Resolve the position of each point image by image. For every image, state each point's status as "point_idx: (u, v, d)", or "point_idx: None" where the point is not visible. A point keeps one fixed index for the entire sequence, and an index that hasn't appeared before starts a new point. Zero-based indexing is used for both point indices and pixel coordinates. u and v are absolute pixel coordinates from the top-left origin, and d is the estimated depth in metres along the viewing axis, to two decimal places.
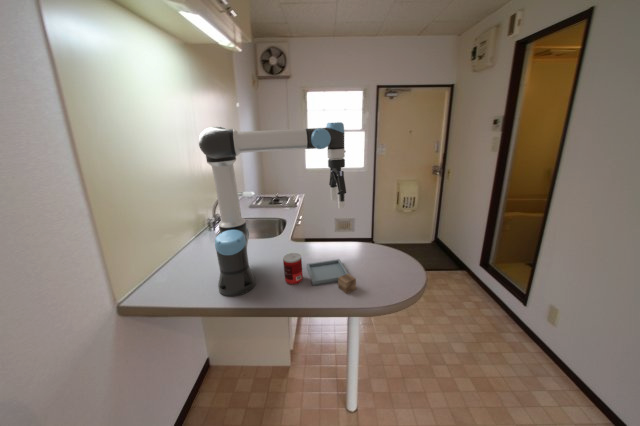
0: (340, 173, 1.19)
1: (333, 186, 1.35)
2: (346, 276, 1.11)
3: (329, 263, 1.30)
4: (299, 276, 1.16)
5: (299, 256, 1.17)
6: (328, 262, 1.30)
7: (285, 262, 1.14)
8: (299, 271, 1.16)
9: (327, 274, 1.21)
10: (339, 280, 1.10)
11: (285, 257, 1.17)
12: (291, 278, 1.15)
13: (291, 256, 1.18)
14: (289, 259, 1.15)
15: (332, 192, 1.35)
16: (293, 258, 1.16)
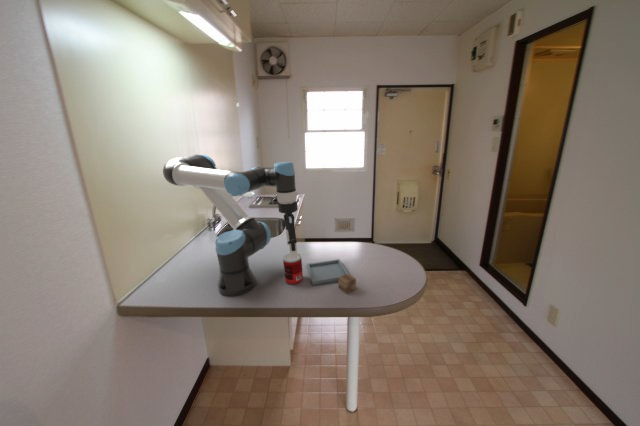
0: (290, 220, 1.04)
1: None
2: (346, 276, 1.11)
3: (329, 263, 1.30)
4: (299, 276, 1.16)
5: (299, 256, 1.17)
6: (328, 262, 1.30)
7: (285, 262, 1.14)
8: (299, 271, 1.16)
9: (327, 274, 1.21)
10: (339, 280, 1.10)
11: (285, 257, 1.17)
12: (291, 278, 1.15)
13: None
14: (289, 259, 1.15)
15: (288, 235, 1.20)
16: (293, 258, 1.16)
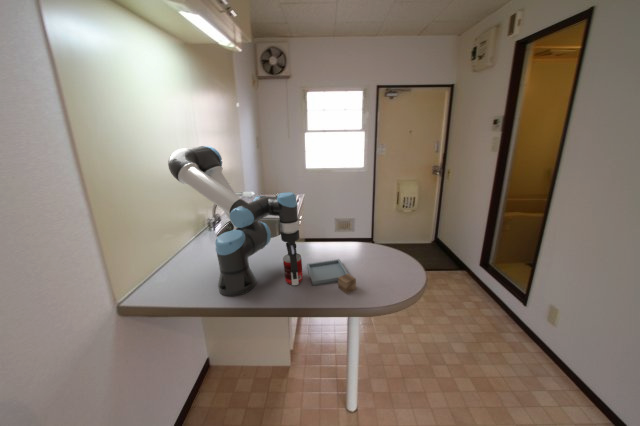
0: (292, 252, 1.08)
1: None
2: (346, 276, 1.11)
3: (329, 263, 1.30)
4: (299, 276, 1.16)
5: (299, 256, 1.17)
6: (328, 262, 1.30)
7: (285, 262, 1.14)
8: (299, 271, 1.16)
9: (327, 274, 1.21)
10: (339, 280, 1.10)
11: (285, 257, 1.17)
12: None
13: None
14: (289, 259, 1.15)
15: None
16: None
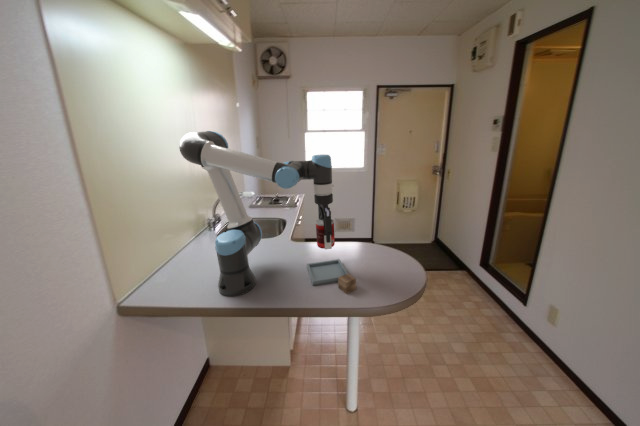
0: (327, 213, 1.08)
1: None
2: (346, 276, 1.11)
3: (329, 263, 1.30)
4: (332, 240, 1.16)
5: (332, 220, 1.16)
6: (328, 262, 1.30)
7: (318, 225, 1.13)
8: (332, 235, 1.15)
9: (327, 274, 1.21)
10: (339, 280, 1.10)
11: (318, 221, 1.16)
12: (324, 242, 1.15)
13: None
14: (322, 223, 1.15)
15: None
16: None
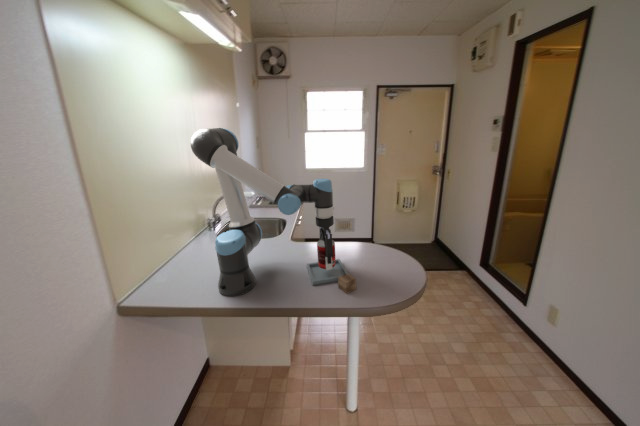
0: (328, 236, 1.11)
1: None
2: (346, 276, 1.11)
3: None
4: (333, 261, 1.19)
5: (332, 241, 1.19)
6: None
7: (320, 247, 1.16)
8: (333, 256, 1.18)
9: (327, 274, 1.21)
10: (339, 280, 1.10)
11: (319, 242, 1.19)
12: (325, 263, 1.17)
13: None
14: (323, 244, 1.18)
15: None
16: None
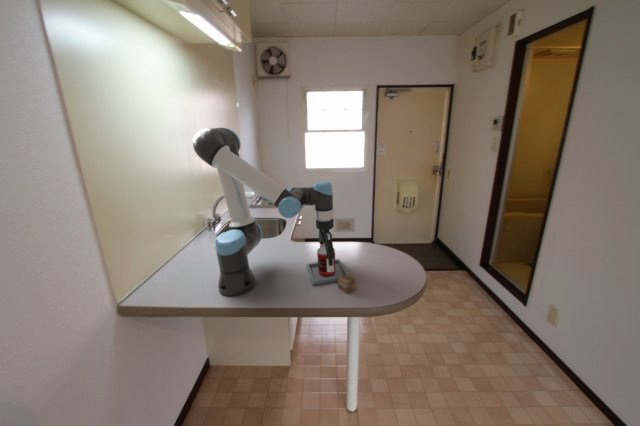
0: (328, 237, 1.11)
1: (322, 243, 1.27)
2: (346, 276, 1.11)
3: None
4: None
5: (333, 249, 1.20)
6: None
7: (320, 255, 1.17)
8: (333, 263, 1.19)
9: None
10: (339, 280, 1.10)
11: (319, 250, 1.20)
12: (325, 270, 1.19)
13: (325, 249, 1.21)
14: (323, 252, 1.19)
15: None
16: None
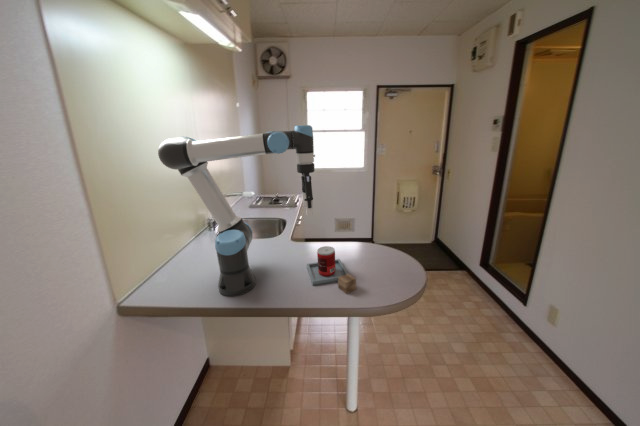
0: (307, 178, 1.13)
1: (305, 191, 1.29)
2: (346, 276, 1.11)
3: None
4: (333, 268, 1.20)
5: (333, 249, 1.20)
6: None
7: (320, 255, 1.17)
8: (333, 263, 1.19)
9: None
10: (339, 280, 1.10)
11: (319, 250, 1.20)
12: (325, 270, 1.19)
13: (325, 249, 1.21)
14: (323, 252, 1.19)
15: (304, 197, 1.29)
16: (327, 251, 1.19)
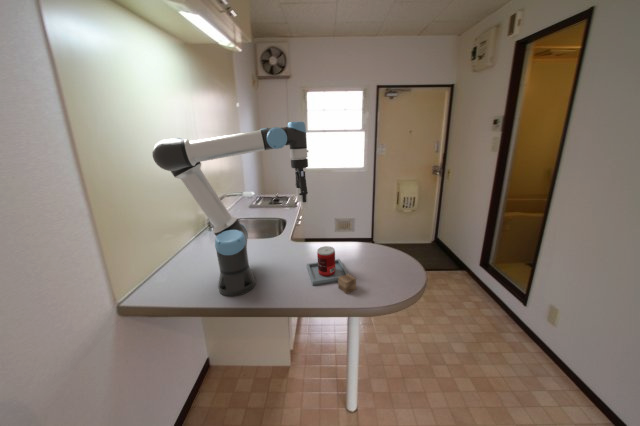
0: (302, 173, 1.16)
1: (299, 186, 1.32)
2: (346, 276, 1.11)
3: None
4: (333, 268, 1.20)
5: (332, 249, 1.20)
6: None
7: (320, 255, 1.17)
8: (333, 263, 1.19)
9: None
10: (339, 280, 1.10)
11: (319, 250, 1.20)
12: (325, 270, 1.19)
13: (324, 249, 1.21)
14: (323, 252, 1.19)
15: (298, 193, 1.32)
16: (327, 251, 1.19)
